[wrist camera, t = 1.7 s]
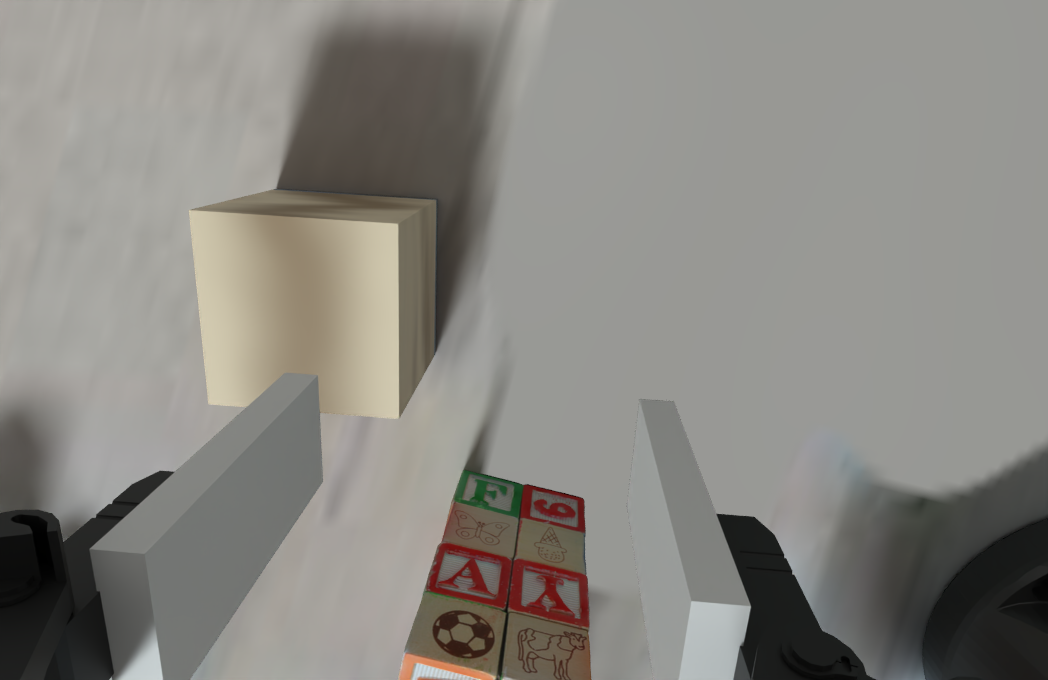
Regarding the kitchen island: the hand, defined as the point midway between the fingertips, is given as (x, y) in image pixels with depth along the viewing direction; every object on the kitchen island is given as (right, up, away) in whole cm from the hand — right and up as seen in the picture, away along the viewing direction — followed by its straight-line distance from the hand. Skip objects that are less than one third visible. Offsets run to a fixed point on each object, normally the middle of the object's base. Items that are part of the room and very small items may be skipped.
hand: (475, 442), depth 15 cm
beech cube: (-6, +5, +15) cm, 17 cm away
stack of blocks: (-1, -14, +21) cm, 25 cm away
